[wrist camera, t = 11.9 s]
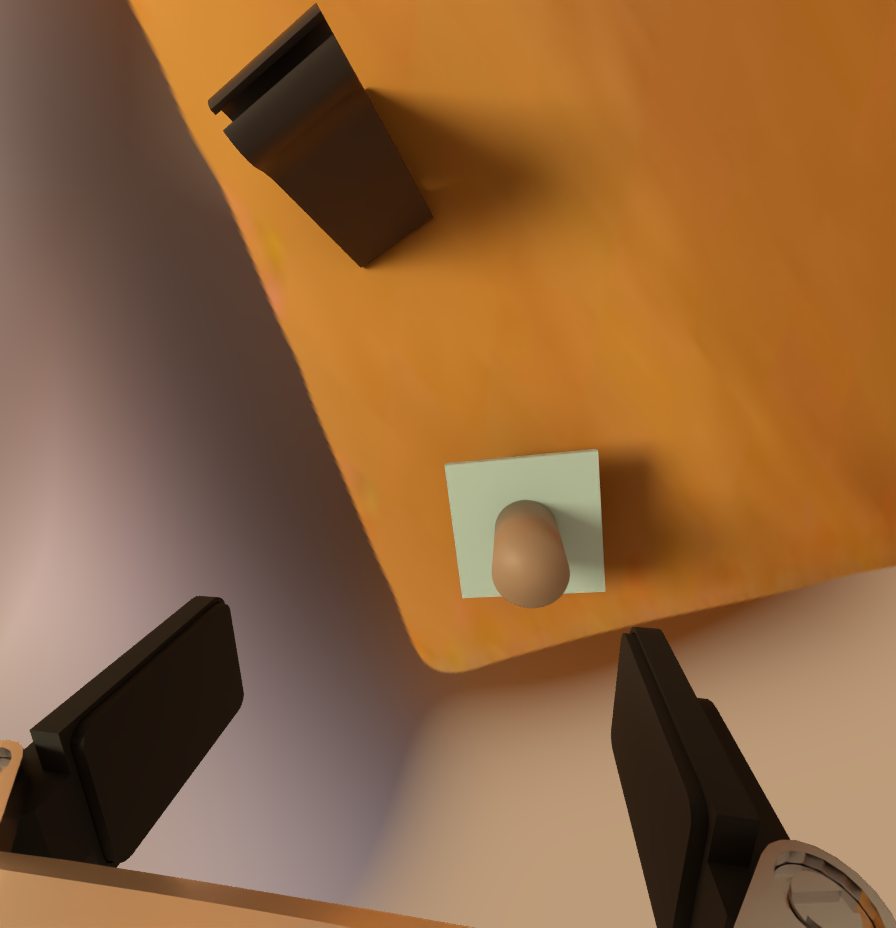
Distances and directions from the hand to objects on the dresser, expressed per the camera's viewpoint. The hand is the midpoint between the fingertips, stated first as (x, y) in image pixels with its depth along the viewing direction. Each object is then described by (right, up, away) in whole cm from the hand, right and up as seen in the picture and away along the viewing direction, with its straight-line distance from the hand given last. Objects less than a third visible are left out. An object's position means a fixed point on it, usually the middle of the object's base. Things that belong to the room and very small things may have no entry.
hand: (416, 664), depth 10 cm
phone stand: (-5, +24, +19) cm, 31 cm away
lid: (+6, +1, +19) cm, 20 cm away
